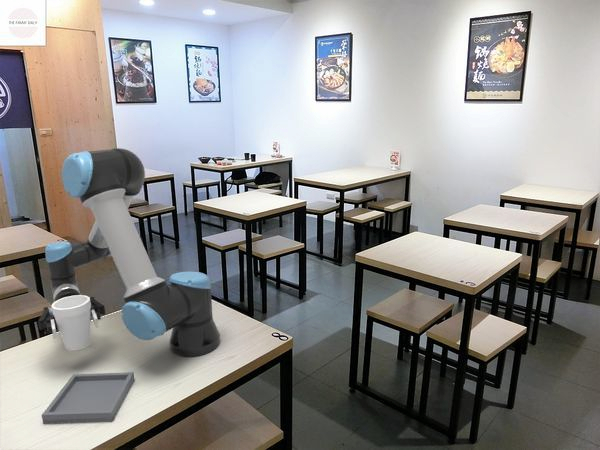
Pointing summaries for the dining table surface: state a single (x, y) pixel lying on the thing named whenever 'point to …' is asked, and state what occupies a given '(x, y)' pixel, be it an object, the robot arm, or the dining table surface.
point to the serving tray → (89, 398)
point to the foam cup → (73, 320)
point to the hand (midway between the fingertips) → (76, 328)
